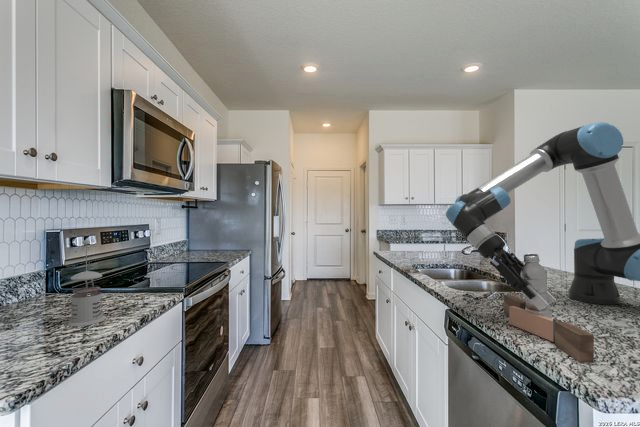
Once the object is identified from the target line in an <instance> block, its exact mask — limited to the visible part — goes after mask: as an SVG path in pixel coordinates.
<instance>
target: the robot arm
mask: <svg viewBox="0 0 640 427" xmlns="http://www.w3.org/2000/svg"><path fill="white" fill-rule="evenodd" d="M623 145H624V136H623V134H622V133H621V131H620V129H618V127H616V126H615V125H613V124H610V123H608V122H604V121H603V122H602V121H600V122H599V121H598V122H593V123H588V124H585V125H582V126H580V127H575V128H572V129H569V130H565V131H563V132H560V133H558V134H556V135H554V136H552V137H551V138H549V139H547V140H546V141H545V142H543V143H541V144H540V145H538V146H537V147H535V148H534V149H532V150H531V151H530V153H529V155H527V156H526V157H525V158H522V160H519V161H518V162H517V163H515V164H514V165H512V166H510V167H509V168H506V169H505V170H503V171H502V172H500V173H498V175H495V176H494V177H493V178H491V179H489V180H487V181H486V182H484V183H483V184H481V185H479V186H478V187H476V188H475V189H473V190H472V191H469V192H468V193H465V194H461V195H459V196H458V197H456V199H455V201H454V203H453V204H451V205H450V206H449V207H448V209H447V210H446V211H445V217H446V218H447V220H448V221H449V222H450V224H451V225H452V226H453V227H454V228H455V229H456V230H458V232H459V233H461V235H462V236H463V237H464V238H465V240H467V241H468V242H469V245H470V246H472V247H473V248H475V249H477V252H478V253H479V254H480V255H481V256H482V257H483V259H490V258H491V260H490V261H489V264H490V265H491V266H492V267H494V268H495V269H496V271H498V272H499V274H500V275H501V276H502V277H503V278H504V280H505V281H506V282H508V284H509V285H510V286H511V287H512V289H514V290H515V292H517V293H519V292H522V294H523V295H524V296H526V297H527V298H528V299H529V300H530V301H531V302H532V303H533V304H534V305H535V306H536V307H537V308H538V309H539V310H542V309H543V308H545V307H546V306H548V305H549V306H550V305H551V304H552V303H554V302H555V301H557V299H556V298H555V297H554V296H553V295H552V294H551V293H550V292H549V291H548V290H547V292H546V293H547V299H548V303H547V302H546V301H545V300H544V299H543V298H542V297H541V296H540V295H539V294H538V293H537V292H536V291H535V290H534V289H533V288H532V287H531V286H530V285H528V286H527V284H526V283H525V281H524V280H523V279H522V278H521V275H520V272H521V269H522V268H523V266H524V265H525V263H523V262H522V261H521V260H520V259H519V258H518V257H517V255H516V254H514V253H513V252H510V253H509V252H508V251H506V250H505V249H504V247H505V245H506V242H505V241H504V240H503V239H502V238H501V237H500V236H499V235H497V234H496V232H495V231H494V230H493V229H492V228H491V227H490V226H489V225H488V224H487V223H486V222H485V221H487V220H488V219H490V218H491V217H493V216H495V215H496V214H498V213H499V212H501V211H503V210H504V209H505V208H506V207H508V206H509V205H510V204H511V196H510V195H509V193H511V192H512V191H514V190H516V189H517V188H519V187H520V186H522V185H524V184H526V183H527V182H528V181H530V180H532V179H534V178H535V177H536V176H538V175H540V174H541V173H548V172H550V171H553V170H554V169H555V168H558V167H562V166H565V165H570V164H572V165H573V169H574V171H576V172H578V173H580V174H581V175H582V177H583V180H584V183H585V186H586V189H587V192H588V194H589V197H590V200H591V203H592V206H593V209H594V213H595V215H596V218H597V220H598V223H599V226H600V229H601V232H602V235H603V237H604V238H601V237H600V238H580V239H579V238H578V239H577V240H576V241H574V247H573V263H574V264H573V266H574V267H573V270H574V274H573V275H574V276H573V279H572V282H571V284H570V286H569V289H568V297H569V298H570V299H573V300H576V301H579V302H584V303H590V304H596V305H609V306H612V305H613V306H614V305H620V304H621V295H620V293H619V290H618V288H617V284H616V282H615V277H616V278H617V277H618V278H621V279H625V280H628V281H636V282H640V233H639V232H638V229H637V225H636V223H635V221H634V217H633V215H632V211H631V209H630V206H629V203H628V200H627V197H626V194H625V192H624V188H623V185H622V182H621V180H620V177H619V173H618V171H617V168H616V163H617V162H618V160H619V159H620V157H619V153H620V152H621V151H622V149H623V147H622V146H623Z"/></svg>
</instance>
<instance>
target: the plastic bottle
mask: <svg viewBox="0 0 640 427" xmlns="http://www.w3.org/2000/svg"><path fill="white" fill-rule="evenodd" d="M523 262H524V266H523V268H522V269H521V272H520V275H521V278H522V279H523V280H524V281H525V283H526V284H527V286H528V285H530V286H531V287H532V288H533V289H534V290H535V291H536V292H537V293H538V294H539V295H540V296H541V297H542V298H543V299H544V300H545V301H546V302H547V303H548V299H547V293H546V292H547V291H548V290H547V283H548V282H547V280H548V275H547V272H546V269H545V268H544V267H543V266H542V265H541V264H540V263H539V262H541V261H540V256H539V254H537V253H527V254H525V253H524V254H523ZM524 296H525V295H524ZM524 299H525V303H526V307H525V310H527V311H530V312H533V313H536V314H539V315H542V316H545V317H548V318H551V319H553V316H552V311H551V309H550V304H549V305H548V306H546V307H545V308H543V309H542V310H539V309H538V308H537V307H536V306H535V305H534V304H533V303H532V302H531V301H530V300H529V299H528V298H527V297H526V296H525V297H524Z"/></svg>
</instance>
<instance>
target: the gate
mask: <svg viewBox="0 0 640 427" xmlns="http://www.w3.org/2000/svg"><path fill="white" fill-rule="evenodd" d="M508 317H509V319H508V320H509V321H508V322H509V324H510V325H511V326H514V327H517V328H519V329H520V330H523V331H526V332H528V333H531V334H533V335H536V336H538V337H541V338H542V339H546V340H547V341H550V342H552V343H554V344H555V322H563V321H562V320H561V319H557V318H554V319H553V318H552V319H551V318H548V317H545V316H542V315H539V314H536V313H533V312H530V311H527V310H524V309H521V308H519V307H516V306H509V316H508Z"/></svg>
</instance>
